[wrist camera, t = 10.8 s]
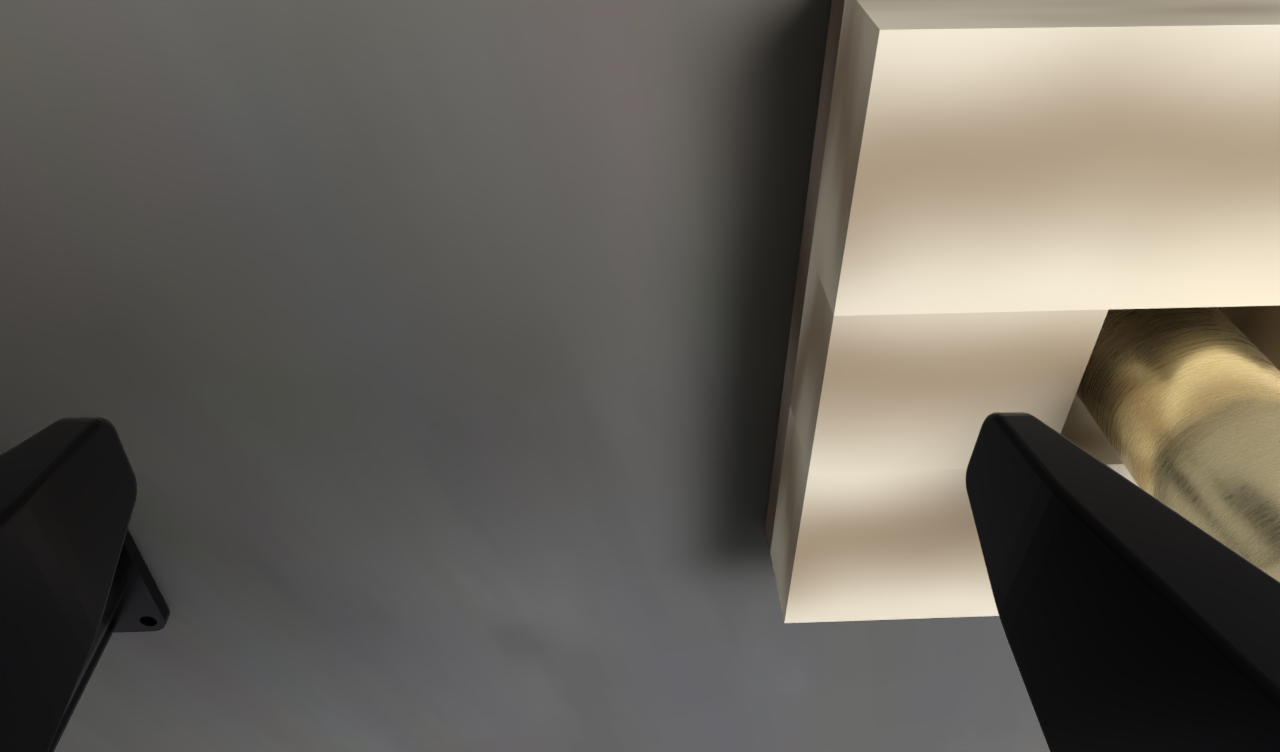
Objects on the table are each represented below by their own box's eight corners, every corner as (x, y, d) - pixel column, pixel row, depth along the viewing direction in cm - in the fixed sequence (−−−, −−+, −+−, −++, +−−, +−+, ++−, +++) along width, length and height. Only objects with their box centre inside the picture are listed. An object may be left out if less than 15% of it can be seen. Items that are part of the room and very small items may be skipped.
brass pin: (1166, 378, 23) (1379, 642, 17) (1032, 382, 23) (1198, 650, 17) (1220, 261, 21) (1488, 514, 15) (1073, 265, 21) (1280, 520, 15)
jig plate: (1275, 511, 28) (1349, 603, 25) (765, 527, 28) (783, 622, 25) (1620, -36, 18) (1801, 17, 16) (835, -28, 18) (879, 30, 15)
